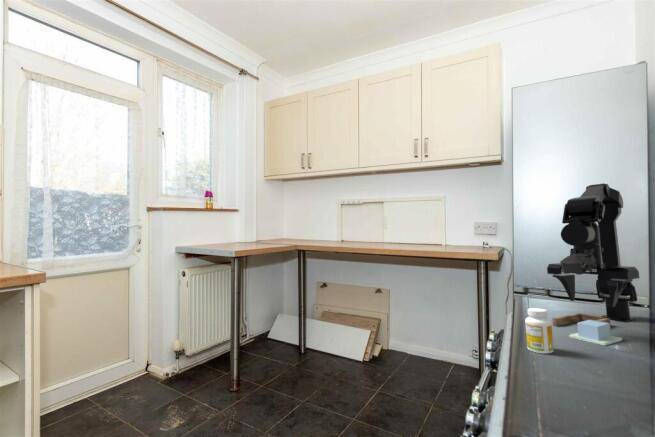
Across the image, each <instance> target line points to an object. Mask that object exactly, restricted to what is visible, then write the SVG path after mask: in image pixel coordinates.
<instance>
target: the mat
mask: <svg viewBox="0 0 655 437" xmlns="http://www.w3.org/2000/svg"><path fill="white" fill-rule="evenodd" d="M568 337H569V338H571V339H576V340H580V341H584V342H589V343H591V344H595V345H601V346H608V345H611V344H615V343H618V342H621V341H623V338H622V337H619V336H613V335H611V337H609V338H606V339H603V340H600V341H597V340H593V339H588V338H584V337H579V336H578V332H575V333H571V334H569V335H568Z"/></svg>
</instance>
